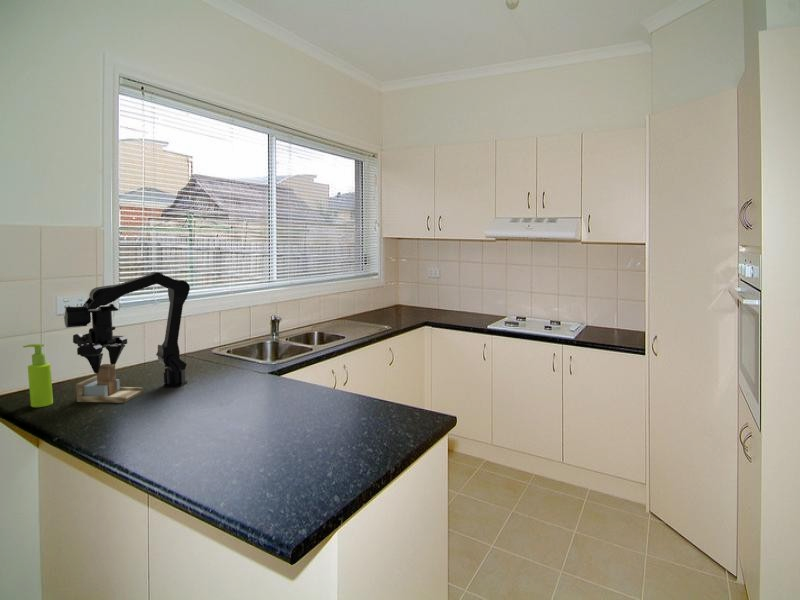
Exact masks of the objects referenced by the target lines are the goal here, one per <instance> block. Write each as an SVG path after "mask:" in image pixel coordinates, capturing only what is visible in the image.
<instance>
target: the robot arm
mask: <svg viewBox="0 0 800 600" xmlns="http://www.w3.org/2000/svg"><path fill="white" fill-rule="evenodd" d="M154 285H159V286H161V287H163V288H165V289H167V295H168V300H169V308H168V315H167V321H166V326H165V327H166V328H165V336H164V341H163V343H162V344H158V345H157V352H156V354H155V355H156V356H157V359H158V361H159V363H161V364H163V366H164V372H163V385H162V386H163V387H175V388H176V387H179V388H180V387H182V386H184V385H185V384H186V383H188V380H186V367H187V365H188V364H187V363H186V362H184V361H183V360H182V359H181V358H180V357H181V356H180V355H181V354H180V346H179V335H180V328H181V321H182V314H183V309H184V308H183V307H184V304H185V303H186V301H187V299H188V297H189V293H190V289H191V286H190V284H189V283H188V281H186V280H182V279H178V278H177V279H174V278H172V277H169V276H167V275H165V274H163V273H162V272H159V271H152V272H151V273H148V274H146V275H142V276H139V277H136V278H134V279H130V280H128V281H125V282H120V283H118V284H111V285H103V286H96V287H95V288H92V289H90V292H89V294H88V295H89V296H88V298H87V300H86V301H85V302H84V303H83V305H81V306H65V310H64V316H63V319H64V325H65V328H67V329H68V328H78V327H79V328H80V327H87V326H88V325H89V324H90V323H91V322H92V327H91V328H89V329H88V333H84V334H83V333H81V332H79V333H75V334H73V336H72V343H73V344H75V345H77V348H76V355H77V356H80V357H84V358H85V359H86V360H87V362H88V363H89V364H90V367H91V369H92V371H93V373H94V374H97V373H98V372H99V369H100V365H102V364H101V363H102V360H103V356H104V353H103V350H104V348H105V349H106V350H107V351H108V357H109V363H110V364H115V365H116V364H117V362H118V359H119V358H120V356H121V353H122V352H123V350H124V348H125V347H126V344H128V338H127V337H126V336H125V335H114V333H113V331H115V330H116V326H113V315H112V314H113V313H112V312H117V311H119V308H117V307H116V306H115V305H114V303H113V302H115V301H117V300H118V299H120V298H121V297H123V296H125V295H128V294H131V293H134V292H136V291H137V292H138V291H140V290H142V289H146V288H149V287H152V286H154Z"/></svg>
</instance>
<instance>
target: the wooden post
mask: <svg viewBox="0 0 800 600" xmlns="http://www.w3.org/2000/svg"><path fill="white" fill-rule="evenodd" d="M96 375H97V385H107V388H108V396H111V395H112V394H114V393H116V392H117V388H116V379H117V373H116V364H109V363H104V364H101V365H100V369H99V372H98V373H96Z"/></svg>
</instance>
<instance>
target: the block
mask: <svg viewBox="0 0 800 600" xmlns="http://www.w3.org/2000/svg"><path fill="white" fill-rule="evenodd" d="M120 384H121V381H120V378H118V379H117V378H116V388H117V391H118V390H120V387H121V385H120ZM84 396H108V388H107V385H97V380H96V381H94V382H92V383H90V384H87V385H85V386H84Z"/></svg>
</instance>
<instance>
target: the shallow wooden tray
mask: <svg viewBox="0 0 800 600" xmlns="http://www.w3.org/2000/svg"><path fill="white" fill-rule="evenodd" d="M96 380H97V374H96V375H94V376H91V377H90V378H86V379H85V380H82V381H80V382H78V383H76V384H75V389H76V391H75V392H76V402H77V403H116V404H117V403H121V404H122V403H123V404H124V403H125V404H126V402H128V401H131V400H132V399H135V397H137V396H138V395H141V394H142V393H143V391H144V390H143V389H144V388H143V387H138V386H136V387H135V386H132V387H131V386H120V390H118V391H117V392H116V393H114V394H112V395H111V396H84V386H85V385H87V384H90V383H92V382H94V381H96Z"/></svg>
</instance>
